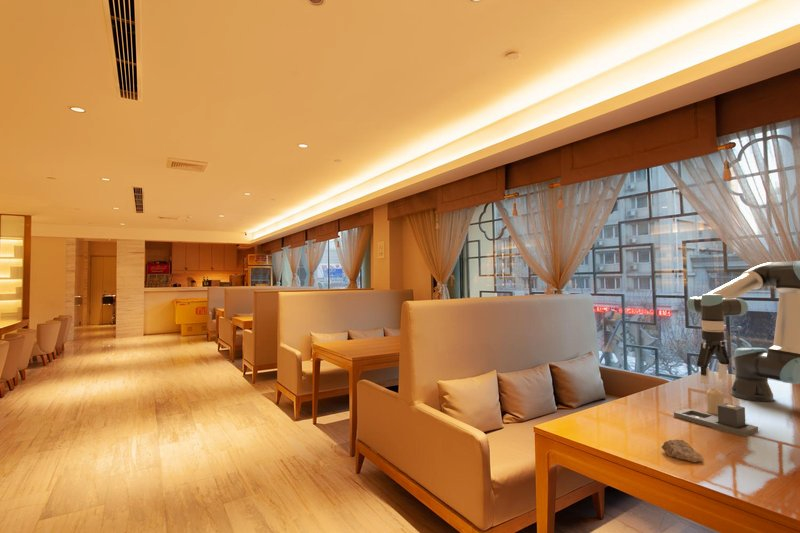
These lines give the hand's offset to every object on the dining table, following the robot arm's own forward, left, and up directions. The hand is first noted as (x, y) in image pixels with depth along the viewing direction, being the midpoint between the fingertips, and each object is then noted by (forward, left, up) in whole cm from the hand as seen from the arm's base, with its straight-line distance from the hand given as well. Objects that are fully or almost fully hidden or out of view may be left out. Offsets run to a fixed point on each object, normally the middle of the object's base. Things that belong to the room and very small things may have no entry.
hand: (714, 381), depth 170 cm
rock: (+55, +17, -14) cm, 59 cm away
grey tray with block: (+14, +6, -13) cm, 20 cm away
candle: (0, 0, -14) cm, 14 cm away
